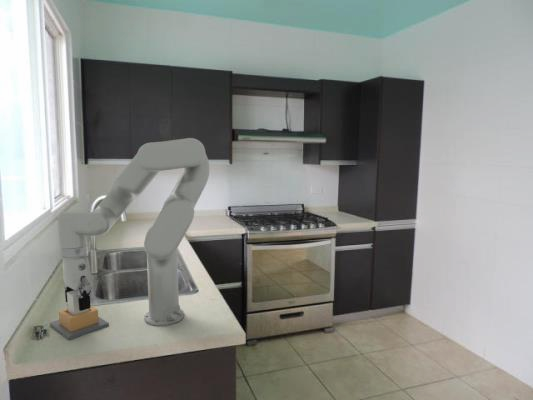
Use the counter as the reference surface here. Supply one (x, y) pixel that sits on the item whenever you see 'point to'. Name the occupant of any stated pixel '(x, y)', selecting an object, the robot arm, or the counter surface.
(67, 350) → the counter surface
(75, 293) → the white plug
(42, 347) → the counter surface
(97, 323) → the socket block
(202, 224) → the counter surface
